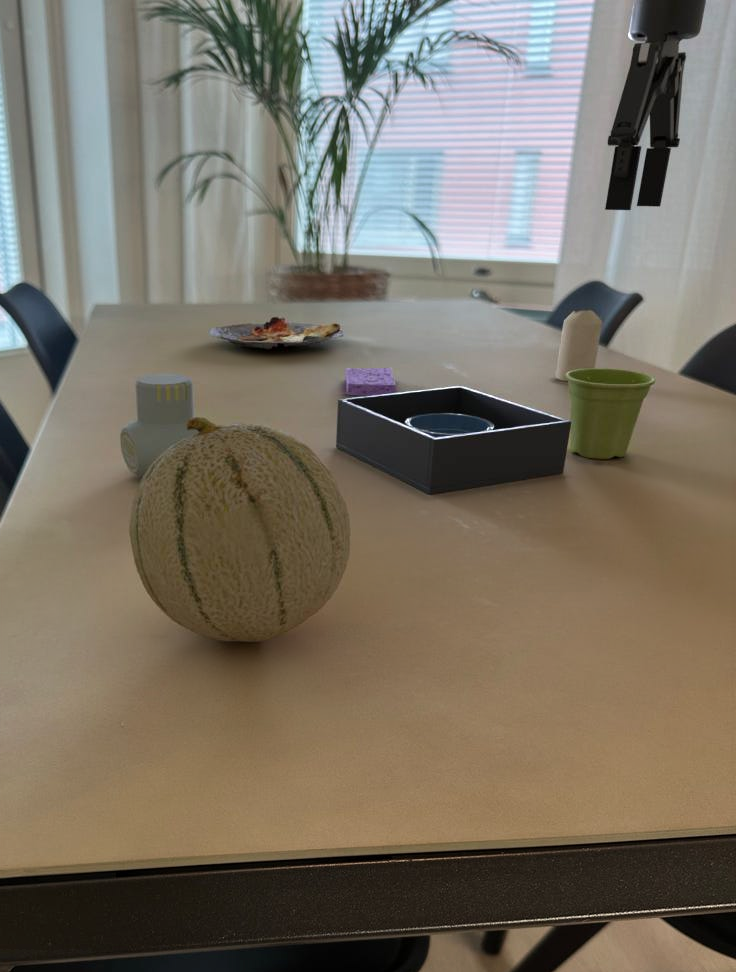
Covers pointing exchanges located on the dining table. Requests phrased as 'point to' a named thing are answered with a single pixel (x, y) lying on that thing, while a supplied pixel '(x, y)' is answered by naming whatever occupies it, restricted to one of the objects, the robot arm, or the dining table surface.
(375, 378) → the sponge
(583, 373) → the plant pot
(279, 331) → the food plate
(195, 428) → the cantaloupe
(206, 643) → the dining table surface
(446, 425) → the blue round bowl
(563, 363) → the candle
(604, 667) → the dining table surface
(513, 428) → the tub
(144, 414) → the air freshener
